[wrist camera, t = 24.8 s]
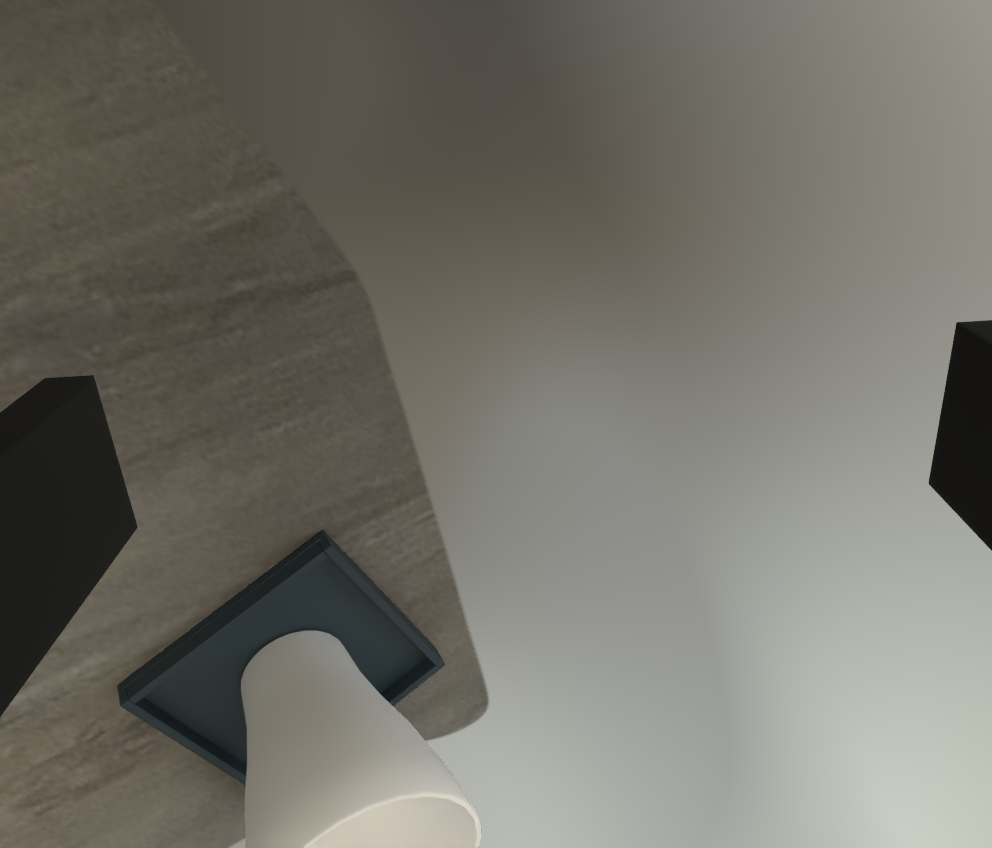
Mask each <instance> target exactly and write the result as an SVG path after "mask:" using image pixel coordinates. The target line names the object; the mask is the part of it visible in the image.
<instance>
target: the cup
mask: <svg viewBox="0 0 992 848" xmlns="http://www.w3.org/2000/svg"><path fill="white" fill-rule="evenodd" d="M241 695H242V701H243V707H244V713H245V720H246V726H247V772H246V788H245V837H246V848H478V847H479V842H480V837H481V825H480V820H479V815H478V813H477V811H476V810H475V808H474V807H473V805H472V804H471V802H470V801H469V799H468V797H467V796H466V794H465V793H464V791H463V790H462V788H461V786H460V785H459V783H458V782H457V780H456V779H455V777H454V776H453V774H452V773H451V772H450V770H449V769H448V768H447V766H446V765H445V764H444V762H443V761H442V760H441V759H440V758H439V756H438V755H437V754H436V753H435V752H434V751H433V750H432V748H431V747H430V746H429V745H428V743H427V742H426V741H425V740H424V739H423V738H422V736H421V735H420V734H419V733H418V732H417V730H416V729H415V728H414V727H413V726H412V725H411V723H410V722H409V721H408V720H407V719H406V718H405V717H404V716H403V715H402V714H401V713H399V712H398V711H397V710H396V709H395V708H394V707H393V706H392V705H391V704H390V703H389V702H388V701H387V700H386V699H385V698H384V697H383V696H382V695H381V694H380V693H379V692H378V691H377V690H376V689H375V688H374V687H373V685H372V684H371V683H370V682H369V681H368V680H367V679H366V678H365V676H364V675H363V674H362V673H361V672H360V670H359V669H358V667H357V666H356V664H355V663H354V661H353V660H352V658H351V657H350V655H349V653H348V652H347V650H346V649H345V647H344V646H343V645H342V643H341V642H340V641H339V640H338V639H337V638H336V637H334V636H332V635H331V634H329V633H325V632H321V631H300V632H295V633H290V634H287V635H285V636H283V637H280V638H278V639H276V640H274V641H272V642H271V643H269V644H268V645H266V646H265V647H263V648H262V649H261V650H260V651H259V652H258V653H257V654H256V655H255V656H254V657H253V658H252V659H251V660H250V662H249V663H248V665H247V666H246V668H245V670H244V673H243V676H242V679H241Z"/></svg>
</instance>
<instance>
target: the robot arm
mask: <svg viewBox="0 0 992 848" xmlns="http://www.w3.org/2000/svg"><path fill="white" fill-rule="evenodd" d="M929 485H930V486H931V487H932V488H933V489H934V490H935V491H936V492H937V493H938V494H939V495H940V496H941V497H942V498H943V499H944V500H945V502H946V503H948V505H949V506H950V507H951V508H952V509H953V510H954V511H955V512H956V513H957V514H958V515H959V516H960V517H961V518H962V520H963V521H964V522H965V523H966V524H967V525H968V526H969V527H970V528H971V529H972V530H973V531H974V532H975V533H976V534H977V535H978V537H979V538H981V540H982V541H983V542H984V543H985V544H986V545H987V546H988V547H989V548H990V549H991V550H992V320H991V321H974V322H958V323H956V329H955V335H954V341H953V347H952V352H951V358H950V364H949V370H948V375H947V381H946V387H945V392H944V398H943V404H942V409H941V415H940V421H939V427H938V433H937V438H936V444H935V450H934V455H933V461H932V467H931V473H930V478H929ZM136 529H137V524H136V520H135V517H134V513H133V510H132V506H131V503H130V499H129V496H128V493H127V489H126V486H125V482H124V479H123V475H122V472H121V468H120V465H119V462H118V458H117V455H116V451H115V448H114V444H113V441H112V437H111V434H110V431H109V427H108V424H107V420H106V417H105V413H104V410H103V406H102V403H101V400H100V396H99V393H98V389H97V386H96V382H95V379H94V375H91V376H75V377H59V378H45V379H43V380H42V381H41V382H39V383H38V384H37V385H35V386H34V387H33V388H32V389H30V390H29V391H28V392H26V393H25V394H24V395H23V396H21V397H20V398H19V399H17V400H16V401H15V402H13V403H12V404H11V405H10V406H8V407H7V408H6V409H4V410H3V411H2V412H0V716H1V715H2V714H3V712H4V711H5V710H6V708H7V707H8V705H9V704H10V703H11V701H12V700H13V699H14V697H15V696H16V694H17V693H18V692H19V690H20V689H21V688H22V686H23V685H24V683H25V682H26V681H27V679H28V678H29V676H30V675H31V674H32V672H33V671H34V670H35V668H36V667H37V665H38V664H39V663H40V661H41V660H42V659H43V657H44V656H45V654H46V653H47V652H48V650H49V649H50V647H51V646H52V645H53V643H54V642H55V641H56V639H57V638H58V636H59V635H60V634H61V632H62V631H63V630H64V628H65V627H66V625H67V624H68V623H69V621H70V620H71V619H72V617H73V616H74V614H75V613H76V612H77V610H78V609H79V607H80V606H81V605H82V603H83V602H84V601H85V599H86V598H87V596H88V595H89V594H90V592H91V591H92V590H93V588H94V587H95V585H96V584H97V583H98V581H99V580H100V579H101V577H102V576H103V574H104V573H105V572H106V570H107V569H108V567H109V566H110V565H111V563H112V562H113V561H114V559H115V558H116V556H117V555H118V554H119V552H120V551H121V550H122V548H123V547H124V545H125V544H126V543H127V541H128V540H129V539H130V537H131V536H132V534H133V533H134V532H135V530H136Z"/></svg>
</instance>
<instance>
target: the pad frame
mask: <svg viewBox="0 0 992 848" xmlns="http://www.w3.org/2000/svg"><path fill="white" fill-rule="evenodd" d="M300 631H321V632H325V633H329V634H331V635H332V636H334V637H336V638H337V639H338V640H339V641H340V642H341V643H342V645H343V646H344V647H345V649H346V650H347V652H348V653H349V655H350V657H351V658H352V660H353V661H354V663H355V664H356V666H357V667H358V669H359V670H360V672H361V673H362V674H363V675H364V676H365V678H366V679H367V680H368V681H369V682H370V683H371V684H372V685H373V687H374V688H375V689H376V690H377V691H378V692H379V693H380V694H381V695H382V696H383V697H384V698H385V699H386V700H387V701H388V702H389V703H390V704H391V705H392V706H394V705H395V704H396V703H398V702H399V701H400V700H402V699H403V698H404V697H405V696H407V695H408V694H409V693H410V692H412V691H413V690H414V689H415V688H417V687H418V686H419V685H420V684H422V683H423V682H424V681H425V680H427V679H428V678H429V677H431V676H432V675H433V674H434V673H436V672H437V671H438V670H439V669H441V668H442V667H443V666H444V665H445V663H444V661H443V659H442V658H441V656H440V654H439V653H438V651H437V649H436V648H435V647H434V646H433V645H432V644H431V643H430V642H429V641H428V640H427V639H426V638H425V637H424V635H423V634H422V633H421V632H420V631H419V630H418V629H417V628H416V627H415V626H414V625H413V624H412V623H411V622H410V621H409V620H408V619H407V618H406V617H405V615H404V614H403V613H402V612H401V611H400V610H399V609H398V608H397V607H396V606H395V605H394V604H393V603H392V602H391V601H390V600H389V599H388V598H387V597H386V596H385V594H384V593H383V592H382V591H381V590H380V589H379V588H378V587H377V586H376V585H375V584H374V583H373V582H372V581H371V580H370V579H369V578H368V577H367V576H366V574H365V573H364V572H363V571H362V570H361V569H360V568H359V567H358V566H357V565H356V564H355V563H354V562H353V561H352V560H351V559H350V558H349V557H348V556H347V555H346V553H345V552H344V551H343V550H342V549H341V548H340V547H339V546H338V545H337V544H336V543H335V542H334V541H333V540H332V539H331V538H330V537H329V536H328V535H327V533H326V532H325V531H323V530H322V531H321V532H320V533H318V534H317V535H316V536H314V537H313V538H312V539H310V540H309V541H308V542H306V543H305V544H304V545H302V546H301V547H300V548H298V549H297V550H296V551H294V552H293V553H292V554H291V555H289V556H288V557H287V558H285V559H284V560H283V561H281V562H280V563H279V564H277V565H276V566H275V567H273V568H272V569H271V570H269V571H268V572H267V573H265V574H264V575H263V576H261V577H260V578H259V579H258V580H256V581H255V582H254V583H252V584H251V585H250V586H248V587H247V588H246V589H244V590H243V591H242V592H240V593H239V594H238V595H236V596H235V597H234V598H232V599H231V600H230V601H229V602H227V603H226V604H225V605H223V606H222V607H221V608H219V609H218V610H217V611H215V612H214V613H213V614H211V615H210V616H209V617H207V618H206V619H205V620H203V621H202V622H201V623H199V624H198V625H197V626H196V627H194V628H193V629H192V630H190V631H189V632H188V633H186V634H185V635H184V636H182V637H181V638H180V639H178V640H177V641H176V642H174V643H173V644H172V645H170V646H169V647H168V648H166V649H165V650H164V651H163V652H161V653H160V654H159V655H157V656H156V657H155V658H153V659H152V660H151V661H149V662H148V663H147V664H145V665H144V666H143V667H141V668H140V669H139V670H137V671H136V672H135V673H134V674H132V675H131V676H130V677H128V678H127V679H126V680H124V681H123V682H122V683H120V684H119V685H118V692H119V700H120V706H121V707H123V708H124V709H126V710H127V711H129V712H131V713H132V714H134V715H135V716H137V717H139V718H140V719H142V720H143V721H145V722H146V723H148V724H150V725H151V726H153V727H154V728H156V729H157V730H159V731H161V732H162V733H164V734H165V735H167V736H169V737H170V738H172V739H173V740H175V741H176V742H178V743H180V744H181V745H183V746H184V747H186V748H188V749H189V750H191V751H192V752H194V753H195V754H197V755H199V756H200V757H202V758H203V759H205V760H207V761H208V762H210V763H211V764H213V765H214V766H216V767H218V768H219V769H221V770H222V771H224V772H225V773H227V774H229V775H230V776H232V777H233V778H235V779H237V780H238V781H240V782H241V783H243V784H244V785H246V772H247V726H246V720H245V713H244V707H243V701H242V695H241V679H242V676H243V673H244V670H245V668H246V666H247V665H248V663H249V662H250V660H251V659H252V658H253V657H254V656H255V655H256V654H257V653H258V652H259V651H260V650H261V649H262V648H263V647H265V646H266V645H268V644H269V643H271V642H272V641H274V640H276V639H278V638H280V637H283V636H285V635H287V634H290V633H295V632H300Z"/></svg>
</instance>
